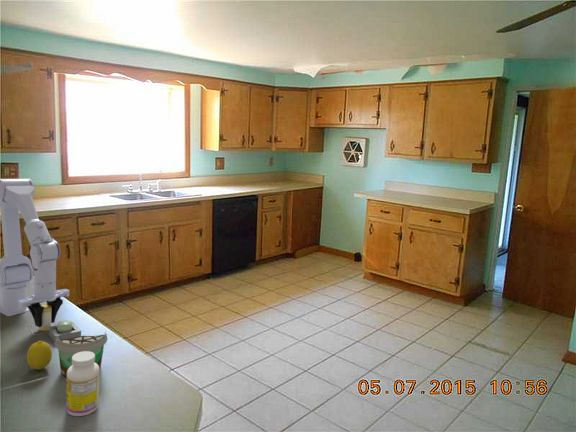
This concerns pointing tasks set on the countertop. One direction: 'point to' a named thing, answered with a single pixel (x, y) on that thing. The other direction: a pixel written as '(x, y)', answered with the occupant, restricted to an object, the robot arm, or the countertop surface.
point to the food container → (79, 349)
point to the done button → (64, 326)
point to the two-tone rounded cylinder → (46, 318)
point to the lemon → (39, 355)
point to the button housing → (66, 335)
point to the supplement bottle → (82, 384)
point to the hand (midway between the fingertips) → (44, 323)
